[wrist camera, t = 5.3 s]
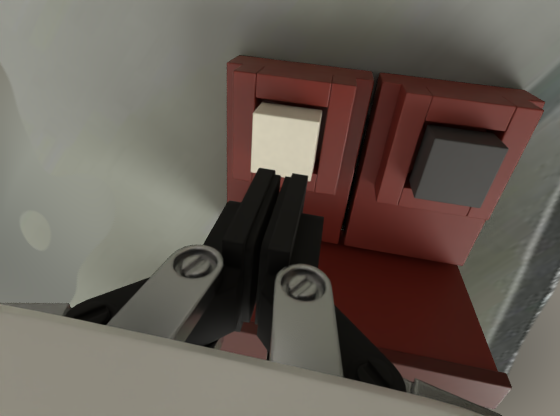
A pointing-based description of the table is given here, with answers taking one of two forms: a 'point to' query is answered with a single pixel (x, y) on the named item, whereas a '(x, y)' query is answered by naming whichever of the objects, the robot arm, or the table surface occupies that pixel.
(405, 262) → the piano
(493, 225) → the table surface
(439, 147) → the ebony key
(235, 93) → the red white-inset block
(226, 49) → the table surface
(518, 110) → the red grey-inset block
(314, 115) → the ivory key
